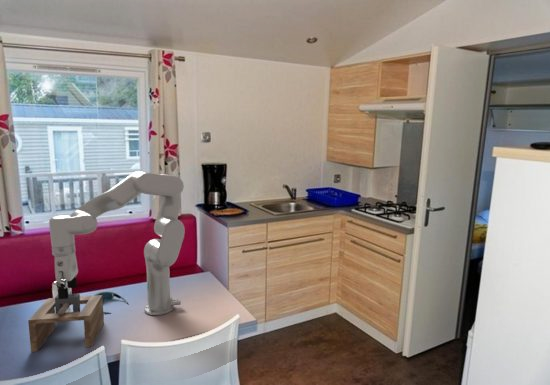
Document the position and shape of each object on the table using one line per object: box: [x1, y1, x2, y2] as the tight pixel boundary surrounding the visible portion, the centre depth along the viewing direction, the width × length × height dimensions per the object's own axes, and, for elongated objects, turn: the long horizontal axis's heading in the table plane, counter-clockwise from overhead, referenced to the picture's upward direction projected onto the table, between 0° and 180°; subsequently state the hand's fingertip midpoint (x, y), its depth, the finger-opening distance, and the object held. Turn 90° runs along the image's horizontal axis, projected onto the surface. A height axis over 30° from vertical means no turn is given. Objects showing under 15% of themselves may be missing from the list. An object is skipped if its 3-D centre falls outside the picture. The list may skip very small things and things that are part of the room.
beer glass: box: [51, 279, 73, 313], centre depth 160 cm, size 7×7×15 cm
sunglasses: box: [92, 290, 130, 315], centre depth 171 cm, size 14×15×5 cm
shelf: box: [27, 295, 105, 353], centre depth 144 cm, size 20×18×14 cm
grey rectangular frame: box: [55, 293, 81, 313], centre depth 144 cm, size 8×3×9 cm, turn 101°
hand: (68, 292), depth 143 cm, fingers open, 9 cm apart
